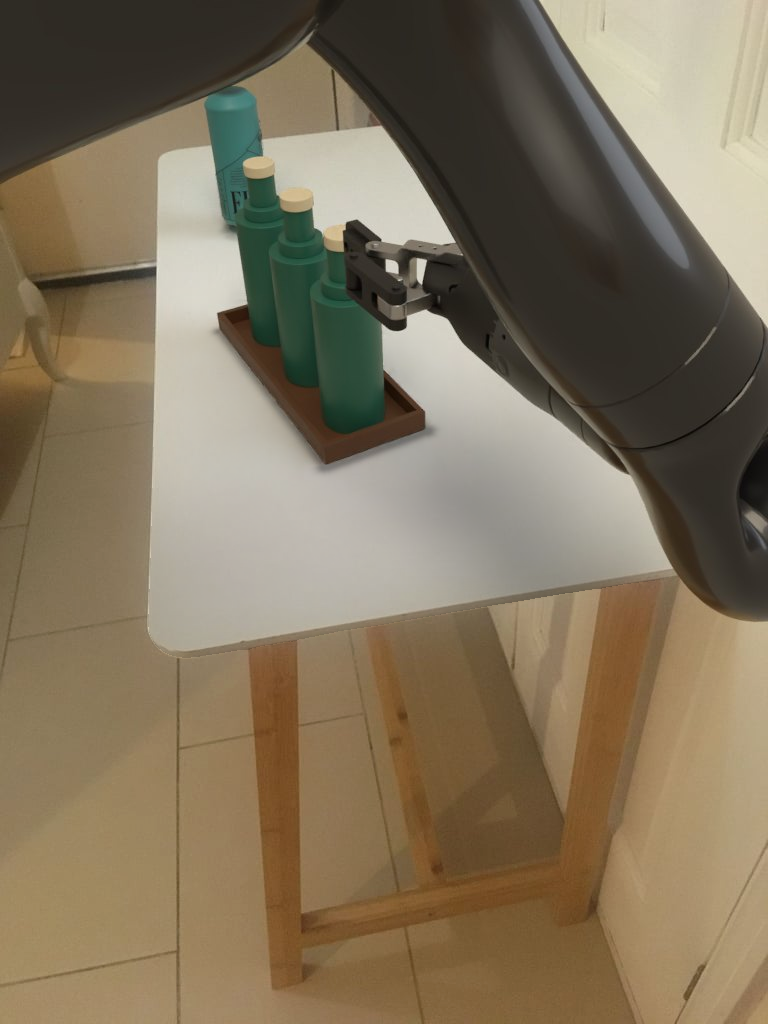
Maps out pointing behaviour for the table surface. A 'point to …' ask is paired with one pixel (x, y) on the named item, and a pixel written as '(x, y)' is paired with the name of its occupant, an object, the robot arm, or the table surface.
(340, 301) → the green bottle
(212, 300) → the table surface
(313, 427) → the tray
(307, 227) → the row bottle middle
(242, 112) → the beverage bottle
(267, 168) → the row bottle far
